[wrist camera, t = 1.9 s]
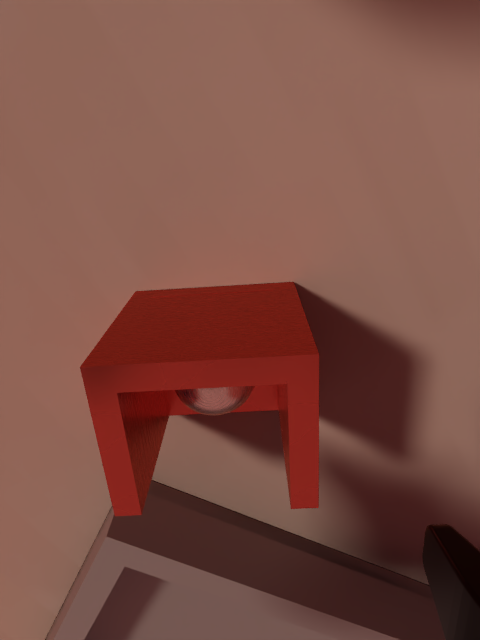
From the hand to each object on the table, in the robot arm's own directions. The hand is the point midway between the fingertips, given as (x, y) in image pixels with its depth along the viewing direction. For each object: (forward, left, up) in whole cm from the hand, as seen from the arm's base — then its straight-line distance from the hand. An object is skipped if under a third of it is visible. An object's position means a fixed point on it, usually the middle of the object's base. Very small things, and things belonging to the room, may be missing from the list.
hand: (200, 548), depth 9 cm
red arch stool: (0, 0, -9) cm, 9 cm away
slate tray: (-9, +16, -9) cm, 20 cm away
